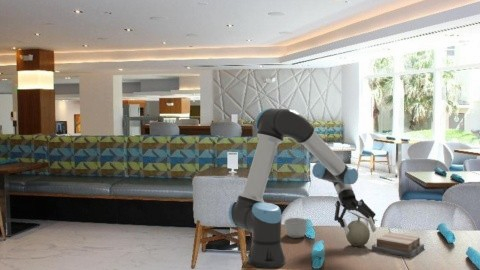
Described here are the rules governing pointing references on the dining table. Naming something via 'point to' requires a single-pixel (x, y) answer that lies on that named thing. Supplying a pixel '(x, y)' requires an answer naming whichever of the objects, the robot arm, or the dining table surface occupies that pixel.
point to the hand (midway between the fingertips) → (361, 231)
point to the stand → (398, 244)
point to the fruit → (358, 232)
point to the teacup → (295, 227)
